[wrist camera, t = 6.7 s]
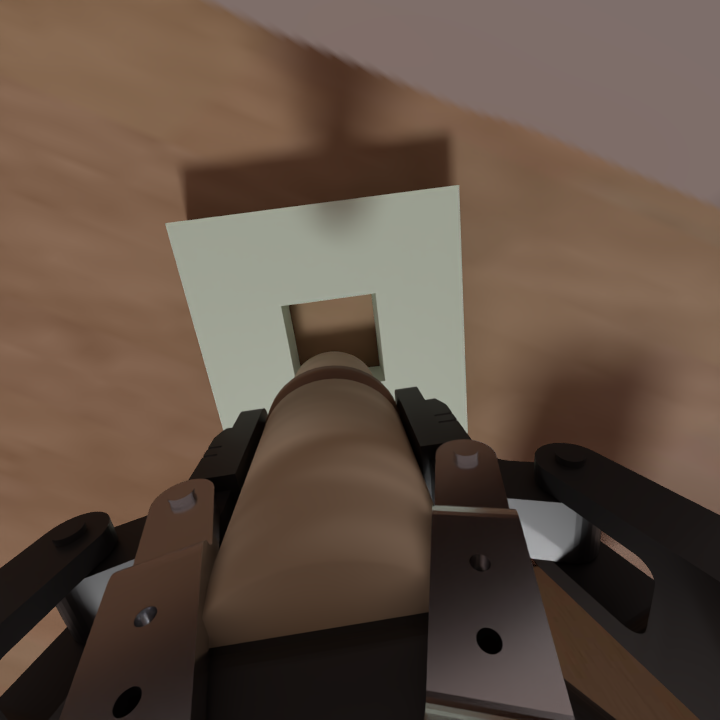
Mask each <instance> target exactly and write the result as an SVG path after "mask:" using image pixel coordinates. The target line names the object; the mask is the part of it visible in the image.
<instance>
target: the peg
mask: <svg viewBox="0 0 720 720" xmlns="http://www.w3.org/2000/svg"><path fill="white" fill-rule="evenodd" d="M432 505H434V503H433V501H432V498H431V496H430V493H429V490H428V488H427V485H426V483H425V480H424V478H423V475H422V472H421V470H420V467H419V465H418V462H417V460H416V457H415V455H414V452H413V449H412V447H411V444H410V442H409V439H408V437H407V434H406V431H405V429H404V426H403V424H402V421H401V419H400V412H399V409H398V407H397V404H396V402H395V400H394V398H393V396H392V395H391V393H390V392H389V390H388V389H387V388H386V387H385V386H384V385H383V384H382V383H381V382H380V381H379V380H378V379H376V378H375V377H373V375H372V373H371V371H370V369H369V368H368V367H367V366H366V364H365V363H364V362H362V361H361V360H360V359H358V358H357V357H355V356H353V355H351V354H348V353H344V352H336V351H332V352H325V353H321V354H318V355H316V356H314V357H312V358H310V359H309V360H307V361H306V362H305V363H304V364H303V365H302V366H301V367H300V368H299V370H298V371H297V373H296V375H295V377H294V378H293V379H292V380H290V381H289V382H288V383H287V384H286V385H285V386H284V387H283V388H282V389H281V390H280V391H279V393H278V394H277V396H276V397H275V399H274V401H273V403H272V405H271V407H270V410H269V413H268V416H267V419H266V423H265V428H264V431H263V434H262V436H261V439H260V442H259V444H258V447H257V450H256V452H255V455H254V458H253V460H252V463H251V466H250V468H249V471H248V474H247V477H246V479H245V482H244V485H243V487H242V490H241V493H240V495H239V498H238V501H237V503H236V506H235V509H234V511H233V514H232V517H231V520H230V522H229V525H228V528H227V530H226V533H225V536H224V538H223V541H222V544H221V546H220V549H219V552H218V554H217V557H216V560H215V562H214V566H213V569H212V573H211V576H210V580H209V585H208V590H207V595H206V600H205V605H204V610H203V616H202V619H203V622H204V625H205V627H206V630H207V633H208V635H209V648H214V647H220V646H226V645H232V644H238V643H244V642H250V641H256V640H262V639H268V638H275V637H281V636H287V635H293V634H299V633H305V632H311V631H317V630H323V629H329V628H335V627H341V626H347V625H353V624H360V623H366V622H372V621H378V620H384V619H390V618H396V617H402V616H408V615H414V614H420V613H426V612H429V589H430V557H431V525H432Z"/></svg>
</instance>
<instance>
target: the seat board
mask: <svg viewBox="0 0 720 720" xmlns="http://www.w3.org/2000/svg"><path fill="white" fill-rule="evenodd" d="M165 225H166V228H167V232H168V235H169V239H170V242H171V246H172V250H173V253H174V257H175V260H176V264H177V267H178V271H179V274H180V278H181V281H182V285H183V289H184V292H185V296H186V299H187V303H188V306H189V310H190V313H191V317H192V320H193V324H194V328H195V331H196V335H197V338H198V342H199V345H200V349H201V352H202V356H203V359H204V363H205V367H206V370H207V374H208V377H209V381H210V384H211V388H212V391H213V395H214V399H215V402H216V406H217V409H218V413H219V416H220V420H221V423H222V427H223V430H225V429H226V428H232V427H233V425H234V423H235V422H236V420H237V418H238V416H239V414H240V413H241V412H242V411H248V410H255V409H262V408H265V409H266V411H267V414H268V413H269V410H270V407H271V405H272V403H273V401H274V399H275V397H276V396H277V394H278V393H279V391H280V390H281V389H282V388H283V387H284V386H285V385H286V384H287V383H288V382H289V381H290V380H292V379H293V378H294V377H295V375H296V373H297V371H298V370H299V368H300V361H299V356H298V351H297V346H296V341H295V335H294V330H293V325H292V320H291V314H290V309H289V305H293V304H300V303H308V302H315V301H322V300H329V299H337V298H344V297H351V296H358V295H366V294H372V303H373V312H374V320H375V329H376V338H377V346H378V355H379V363H380V366H374V367H368V368H369V369H370V371H371V373H372V375H373V377H375V378H376V379H378V380H379V381H380V382H381V383H382V384H383V385H384V386H385V387H386V388H387V389H388V390H389V392H390V393H391V395H392V396H393V398H394V400H395V389H402V388H409V387H416V386H417V387H418V389H419V391H420V392H421V394H422V396H423V397H424V399H425V400H427V399H433V398H436V399H437V400H439V401H441V402H443V403H445V404H446V405H447V406H448V407H449V409H450V410H451V412H452V414H454V416H455V417H456V419H457V421H459V423H460V424H461V426H462V427H463V428H464V430H465V431H466V433H467V434H468V430H467V401H466V372H465V343H464V315H463V286H462V257H461V228H460V199H459V185H455V186H447V187H439V188H432V189H424V190H416V191H409V192H401V193H393V194H386V195H378V196H371V197H363V198H355V199H348V200H340V201H332V202H325V203H317V204H309V205H302V206H294V207H286V208H279V209H271V210H264V211H256V212H248V213H241V214H233V215H225V216H218V217H210V218H202V219H195V220H187V221H180V222H172V223H165Z"/></svg>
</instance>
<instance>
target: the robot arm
mask: <svg viewBox="0 0 720 720" xmlns="http://www.w3.org/2000/svg"><path fill="white" fill-rule="evenodd" d="M395 402H396V404H397V407H398V409H399V412H400V419H401V421H402V424H403V426H404V429H405V431H406V434H407V437H408V439H409V442H410V444H411V447H412V449H413V452H414V455H415V457H416V460H417V462H418V465H419V467H420V470H421V472H422V475H423V478H424V480H425V483H426V485H427V488H428V490H429V493H430V496H431V498H432V501H433V503H434V505H432V525H431V557H430V589H429V612H426V613H420V614H414V615H408V616H402V617H396V618H390V619H384V620H378V621H372V622H366V623H360V624H353V625H347V626H341V627H335V628H329V629H323V630H317V631H311V632H305V633H299V634H293V635H287V636H281V637H275V638H268V639H262V640H256V641H250V642H244V643H238V644H232V645H226V646H220V647H214V648H209V635H208V633H207V630H206V627H205V625H204V622H203V619H202V616H203V610H204V605H205V600H206V595H207V590H208V585H209V580H210V576H211V573H212V569H213V566H214V562H215V560H216V557H217V554H218V552H219V549H220V546H221V544H222V541H223V538H224V536H225V533H226V530H227V528H228V525H229V522H230V520H231V517H232V514H233V511H234V509H235V506H236V503H237V501H238V498H239V495H240V493H241V490H242V487H243V485H244V482H245V479H246V477H247V474H248V471H249V468H250V466H251V463H252V460H253V458H254V455H255V452H256V450H257V447H258V444H259V442H260V439H261V436H262V434H263V431H264V428H265V423H266V419H267V416H268V414H267V411H266V409H265V408H262V409H255V410H248V411H242V412H241V413H240V414H239V416H238V418H237V420H236V422H235V423H234V425H233V427H232V428H226V429H225V430H224V431H222V432H221V433H220V434H219V435H217V436H216V437H215V438H214V439H213V441H212V443H211V444H210V446H209V448H208V450H207V451H206V452H205V454H204V456H203V458H202V459H201V461H200V462H199V464H198V465H197V467H196V469H195V470H194V472H193V474H192V475H191V477H190V479H189V480H187V481H184V482H181V483H179V484H176V485H174V486H172V487H170V488H169V489H167V490H165V491H164V492H163V493H161V494H160V495H159V496H158V497H157V498H156V499H155V500H154V501H153V503H152V504H151V506H150V509H149V512H148V515H147V516H145V517H142V518H139V519H136V520H133V521H131V522H128V523H125V524H122V525H119V526H116V527H114V526H113V524H112V522H111V519H110V517H109V515H108V514H107V513H104V512H90V513H86V514H83V515H79V516H77V517H74V518H72V519H70V520H67V521H65V522H64V523H62V524H60V525H58V526H56V527H55V528H53V529H52V530H50V531H49V532H48V533H46V534H45V535H43V536H42V537H41V538H40V539H38V540H37V541H36V542H34V543H33V544H32V545H30V546H29V547H28V548H26V549H25V550H24V551H22V552H21V553H20V554H18V555H17V556H16V557H14V558H13V559H12V560H11V561H9V562H8V563H7V564H5V565H4V566H3V567H1V568H0V660H1V659H2V657H3V656H4V655H5V654H6V653H7V652H8V651H9V650H10V649H11V648H12V647H13V646H15V645H16V644H17V643H18V642H19V641H20V640H21V639H22V638H23V637H24V636H25V635H26V634H27V633H28V632H29V631H30V630H31V629H32V628H33V627H34V626H35V625H36V624H37V623H38V622H39V621H41V620H42V619H43V618H44V617H45V616H46V615H47V614H48V613H49V612H50V611H51V610H52V609H53V608H54V607H55V606H56V608H57V609H58V611H59V613H60V615H61V617H62V619H63V620H64V622H65V624H66V626H67V628H66V629H65V630H64V631H63V632H62V633H61V634H60V635H59V636H58V637H57V638H56V639H55V640H54V641H53V642H52V643H51V644H50V646H49V647H48V648H47V649H46V650H45V651H44V652H43V653H42V654H41V655H40V656H39V657H38V658H37V659H36V660H35V661H34V662H33V663H32V664H31V665H30V666H29V668H28V669H27V670H26V671H25V672H24V673H23V674H22V675H21V676H20V677H19V678H18V679H17V680H16V681H15V682H14V683H13V684H12V685H11V686H10V687H9V688H8V690H7V691H6V692H5V693H4V694H3V695H2V696H1V697H0V720H616V719H615V718H614V717H613V716H611V715H610V714H609V713H608V712H606V711H605V710H604V709H603V708H601V707H600V706H599V705H597V704H596V703H595V702H594V701H592V700H591V699H590V698H589V697H587V696H586V695H585V694H583V693H582V692H581V691H580V690H578V689H577V688H576V687H575V686H573V685H572V684H571V683H569V682H568V681H567V680H566V679H564V678H563V675H562V671H561V667H560V664H559V660H558V656H557V653H556V649H555V645H554V642H553V638H552V635H551V631H550V627H549V624H548V620H547V616H546V613H545V609H544V605H543V602H542V598H541V594H540V591H539V587H538V584H537V580H536V576H535V573H534V569H533V565H532V562H531V558H533V559H534V561H535V562H536V564H537V565H538V566H539V567H540V568H541V569H542V570H543V571H544V572H545V573H546V574H547V575H548V576H549V577H550V578H551V579H552V580H553V581H554V582H555V583H556V584H558V585H559V586H560V587H561V588H562V589H563V590H564V591H565V592H566V593H567V594H568V595H569V596H570V597H571V598H572V599H573V600H574V601H575V602H576V603H577V604H579V605H580V606H581V607H582V608H583V609H584V610H585V611H586V612H587V613H588V614H589V615H590V616H591V617H592V618H593V619H594V620H595V621H596V622H597V623H599V624H600V625H601V626H602V627H603V628H604V629H605V630H606V631H607V632H608V633H609V634H610V635H611V636H612V637H613V638H614V639H615V640H616V641H617V642H618V643H620V644H621V645H622V646H623V647H624V648H625V649H626V650H627V651H628V652H629V653H630V654H631V655H632V656H633V657H634V658H635V659H636V660H637V661H638V662H640V663H641V664H642V665H643V666H644V667H645V668H646V669H647V670H648V671H649V672H650V673H651V674H652V675H653V676H654V677H655V678H656V679H657V680H658V681H660V682H661V683H662V684H663V685H664V686H665V687H666V688H667V689H668V690H669V691H670V692H671V693H672V694H673V695H674V696H675V697H676V698H677V699H678V700H679V701H681V702H682V703H683V704H684V705H685V706H686V707H687V708H688V709H689V710H690V711H691V712H692V713H693V714H694V715H695V716H696V717H697V718H698V719H699V720H720V515H718V514H716V513H714V512H712V511H710V510H708V509H706V508H704V507H702V506H700V505H699V504H697V503H695V502H693V501H691V500H689V499H687V498H685V497H683V496H681V495H679V494H677V493H675V492H673V491H671V490H669V489H667V488H665V487H663V486H661V485H659V484H657V483H655V482H653V481H651V480H649V479H647V478H645V477H643V476H641V475H639V474H637V473H635V472H633V471H631V470H629V469H627V468H625V467H624V466H622V465H620V464H618V463H616V462H614V461H612V460H610V459H608V458H606V457H604V456H602V455H600V454H598V453H596V452H594V451H592V450H590V449H587V448H585V447H582V446H578V445H574V444H567V443H552V444H547V445H544V446H542V447H540V448H539V449H537V451H536V452H535V461H534V462H519V461H507V460H501V459H497V456H496V453H495V452H494V450H493V449H492V448H491V447H489V446H488V445H486V444H484V443H481V442H479V441H475V440H471V438H470V437H469V435H468V434H467V433H466V431H465V430H464V428H463V427H462V426H461V424H460V423H459V421H457V419H456V417H455V416H454V414H452V412H451V410H450V409H449V407H448V406H447V405H446V404H445V403H443V402H441V401H439V400H437V399H436V398H433V399H427V400H425V399H424V397H423V396H422V394H421V392H420V391H419V389H418V387H417V386H416V387H409V388H402V389H395ZM601 530H602V531H603V532H604V533H606V534H607V535H609V536H610V537H611V538H613V539H614V540H616V541H617V542H619V543H620V544H621V545H623V546H624V547H626V548H627V549H629V550H630V551H631V552H633V553H634V554H636V555H637V556H638V557H639V558H640V559H641V560H642V561H643V562H644V563H645V564H646V565H647V567H648V568H649V570H650V571H651V573H652V575H653V578H654V580H653V579H652V578H650V577H649V576H647V575H646V574H645V573H643V572H642V571H641V570H639V569H638V568H637V567H635V566H634V565H632V564H631V563H630V562H628V561H627V560H626V559H624V558H623V557H622V556H620V555H619V554H617V553H616V552H615V551H613V550H612V549H611V548H609V547H608V546H606V545H605V544H604V543H602V542H601V541H600V538H601Z"/></svg>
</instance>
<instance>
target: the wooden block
mask: <svg viewBox="0 0 720 720" xmlns="http://www.w3.org/2000/svg"><path fill="white" fill-rule="evenodd" d="M533 569H534V573H535V576H536V580H537V584H538V587H539V591H540V594H541V598H542V602H543V605H544V609H545V613H546V616H547V620H548V624H549V627H550V631H551V635H552V638H553V642H554V645H555V649H556V653H557V656H558V660H559V664H560V667H561V671H562V675H563V678H564V679H566V680H567V681H568V682H569V683H571V684H572V685H573V686H575V687H576V688H577V689H578V690H580V691H581V692H582V693H583V694H585V695H586V696H587V697H589V698H590V699H591V700H592V701H594V702H595V703H596V704H597V705H599V706H600V707H601V708H603V709H604V710H605V711H606V712H608V713H609V714H610V715H611V716H613V717H614V718H615V719H616V720H699V719H698V718H697V717H696V716H695V715H694V714H693V713H692V712H691V711H690V710H689V709H688V708H687V707H686V706H685V705H684V704H683V703H682V702H681V701H679V700H678V699H677V698H676V697H675V696H674V695H673V694H672V693H671V692H670V691H669V690H668V689H667V688H666V687H665V686H664V685H663V684H662V683H661V682H660V681H658V680H657V679H656V678H655V677H654V676H653V675H652V674H651V673H650V672H649V671H648V670H647V669H646V668H645V667H644V666H643V665H642V664H641V663H640V662H638V661H637V660H636V659H635V658H634V657H633V656H632V655H631V654H630V653H629V652H628V651H627V650H626V649H625V648H624V647H623V646H622V645H621V644H620V643H618V642H617V641H616V640H615V639H614V638H613V637H612V636H611V635H610V634H609V633H608V632H607V631H606V630H605V629H604V628H603V627H602V626H601V625H600V624H599V623H597V622H596V621H595V620H594V619H593V618H592V617H591V616H590V615H589V614H588V613H587V612H586V611H585V610H584V609H583V608H582V607H581V606H580V605H579V604H577V603H576V602H575V601H574V600H573V599H572V598H571V597H570V596H569V595H568V594H567V593H566V592H565V591H564V590H563V589H562V588H561V587H560V586H559V585H558V584H556V583H555V582H554V581H553V580H552V579H551V578H550V577H549V576H548V575H547V574H546V573H545V572H544V571H543V570H542V569H541V568H540V567H539V566H535V567H533Z"/></svg>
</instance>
